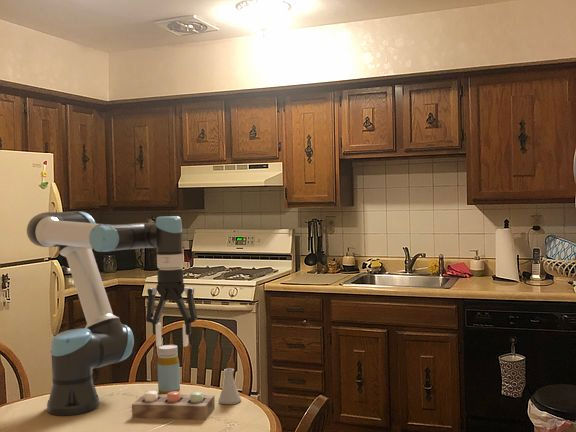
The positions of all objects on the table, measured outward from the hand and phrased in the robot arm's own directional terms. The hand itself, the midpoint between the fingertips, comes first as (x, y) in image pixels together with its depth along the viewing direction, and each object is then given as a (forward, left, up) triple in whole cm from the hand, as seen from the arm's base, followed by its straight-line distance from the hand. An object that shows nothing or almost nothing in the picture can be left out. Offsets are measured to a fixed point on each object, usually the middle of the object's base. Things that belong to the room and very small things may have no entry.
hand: (172, 345), depth 183 cm
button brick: (0, 0, -18) cm, 18 cm away
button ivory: (-7, -2, -18) cm, 19 cm away
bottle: (-15, +16, -20) cm, 30 cm away
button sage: (+7, +2, -18) cm, 19 cm away
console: (0, 0, -20) cm, 20 cm away
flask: (+9, +16, -20) cm, 27 cm away
